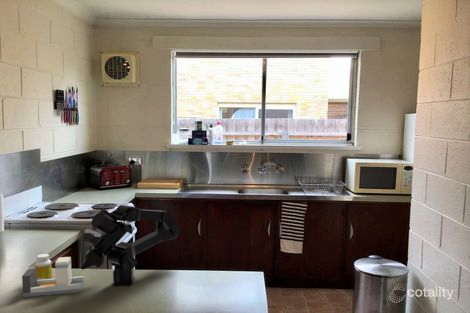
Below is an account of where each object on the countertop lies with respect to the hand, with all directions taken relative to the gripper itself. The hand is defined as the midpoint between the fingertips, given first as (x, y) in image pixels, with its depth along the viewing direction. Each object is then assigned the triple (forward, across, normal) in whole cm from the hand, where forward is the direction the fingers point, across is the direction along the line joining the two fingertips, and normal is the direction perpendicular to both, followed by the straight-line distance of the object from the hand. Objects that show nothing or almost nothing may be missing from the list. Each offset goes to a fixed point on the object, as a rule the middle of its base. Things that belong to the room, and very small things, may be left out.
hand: (81, 268), depth 138 cm
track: (+12, 0, -2) cm, 12 cm away
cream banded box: (+8, 0, -1) cm, 8 cm away
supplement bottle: (+16, -10, -6) cm, 20 cm away
